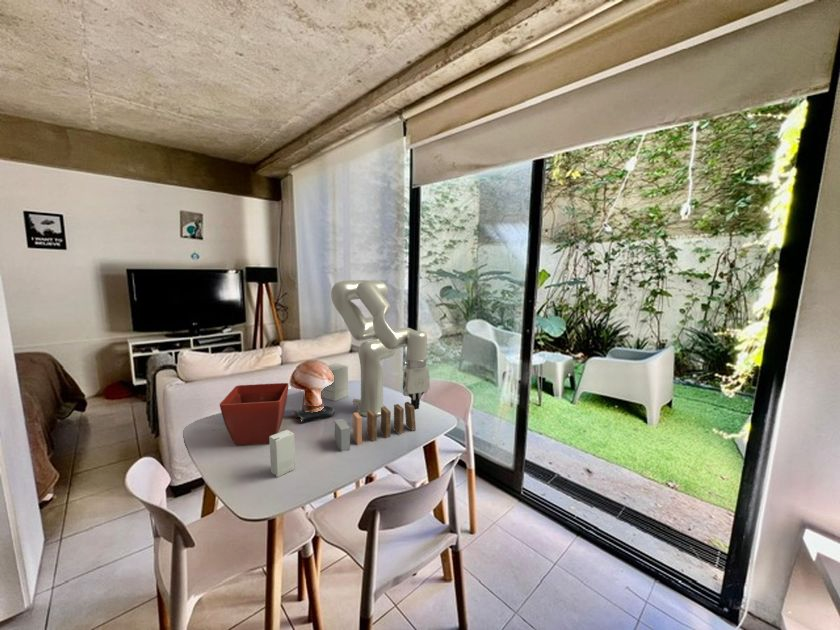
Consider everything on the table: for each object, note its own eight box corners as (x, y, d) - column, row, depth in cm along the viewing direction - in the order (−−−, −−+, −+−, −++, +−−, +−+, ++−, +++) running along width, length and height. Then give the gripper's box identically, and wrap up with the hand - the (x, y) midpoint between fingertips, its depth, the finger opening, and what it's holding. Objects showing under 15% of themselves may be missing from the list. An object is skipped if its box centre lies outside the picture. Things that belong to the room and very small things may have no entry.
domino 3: (399, 434, 131) (399, 409, 129) (393, 429, 135) (394, 404, 134) (403, 433, 132) (403, 408, 130) (397, 428, 136) (397, 404, 134)
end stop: (341, 451, 118) (341, 429, 117) (334, 441, 125) (334, 420, 124) (350, 449, 120) (349, 427, 118) (342, 439, 126) (342, 418, 125)
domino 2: (386, 437, 128) (386, 412, 127) (380, 432, 132) (381, 407, 131) (390, 436, 129) (390, 411, 127) (384, 431, 133) (384, 406, 132)
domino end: (357, 445, 123) (357, 418, 121) (353, 438, 127) (353, 413, 125) (361, 444, 123) (361, 417, 122) (357, 437, 128) (357, 412, 126)
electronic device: (303, 429, 136) (338, 415, 145) (300, 416, 136) (335, 402, 144) (296, 423, 144) (329, 410, 153) (293, 411, 143) (327, 398, 152)
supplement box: (336, 391, 173) (336, 362, 170) (348, 395, 167) (348, 366, 165) (321, 397, 165) (321, 366, 163) (334, 401, 160) (333, 370, 158)
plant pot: (238, 426, 134) (236, 384, 132) (290, 422, 138) (288, 382, 136) (221, 452, 116) (218, 404, 113) (281, 447, 120) (279, 401, 117)
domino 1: (372, 441, 125) (372, 415, 124) (367, 435, 130) (367, 410, 128) (376, 440, 126) (376, 414, 125) (371, 434, 130) (371, 409, 129)
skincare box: (288, 464, 110) (287, 428, 108) (296, 469, 107) (295, 433, 106) (269, 472, 106) (268, 435, 104) (277, 478, 103) (275, 440, 101)
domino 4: (412, 431, 134) (410, 407, 132) (406, 426, 138) (404, 402, 136) (415, 430, 134) (414, 406, 132) (409, 424, 139) (408, 401, 137)
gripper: (404, 368, 126) (402, 415, 129) (437, 363, 134) (436, 407, 137) (394, 362, 133) (393, 408, 135) (427, 358, 140) (426, 401, 143)
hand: (415, 407), depth 136 cm, fingers closed
